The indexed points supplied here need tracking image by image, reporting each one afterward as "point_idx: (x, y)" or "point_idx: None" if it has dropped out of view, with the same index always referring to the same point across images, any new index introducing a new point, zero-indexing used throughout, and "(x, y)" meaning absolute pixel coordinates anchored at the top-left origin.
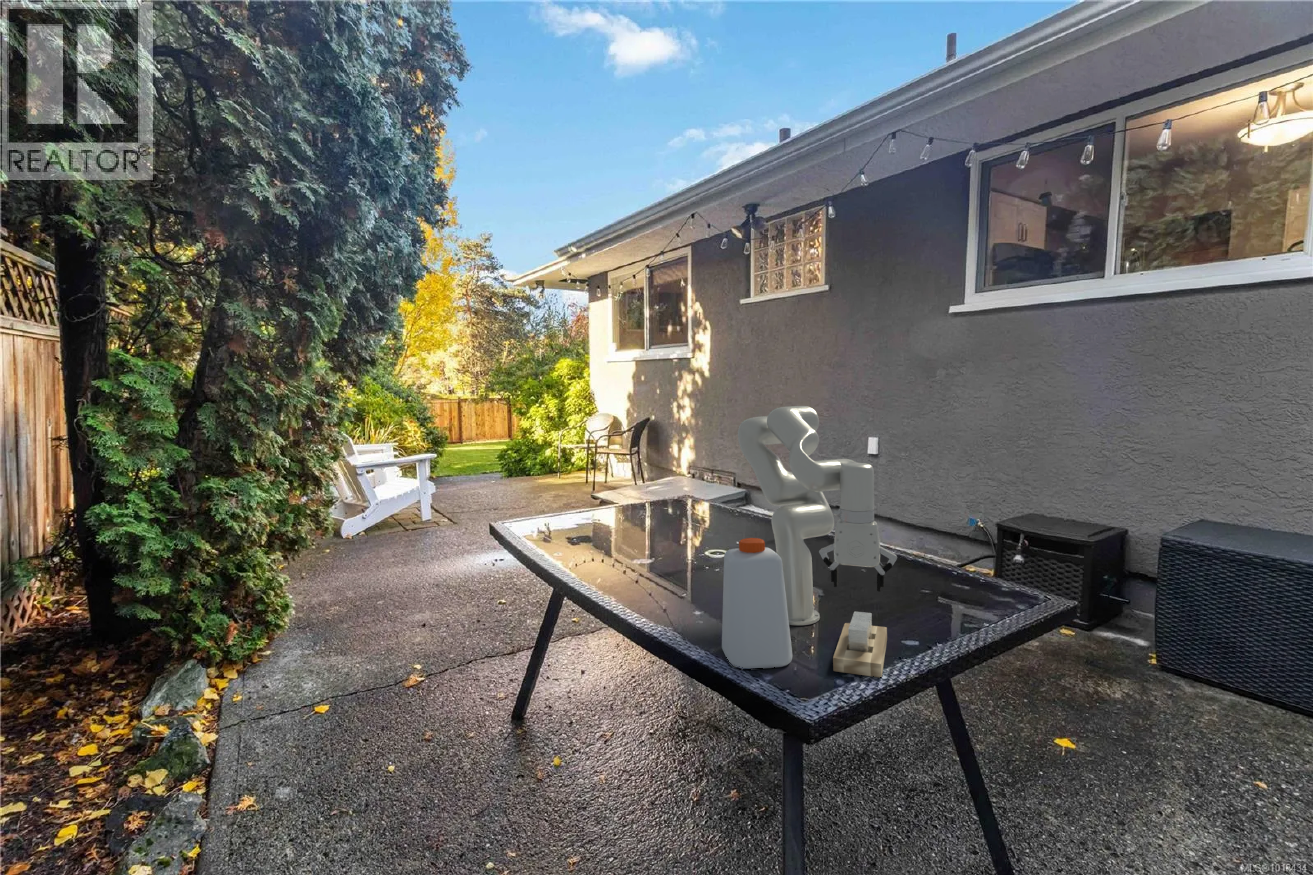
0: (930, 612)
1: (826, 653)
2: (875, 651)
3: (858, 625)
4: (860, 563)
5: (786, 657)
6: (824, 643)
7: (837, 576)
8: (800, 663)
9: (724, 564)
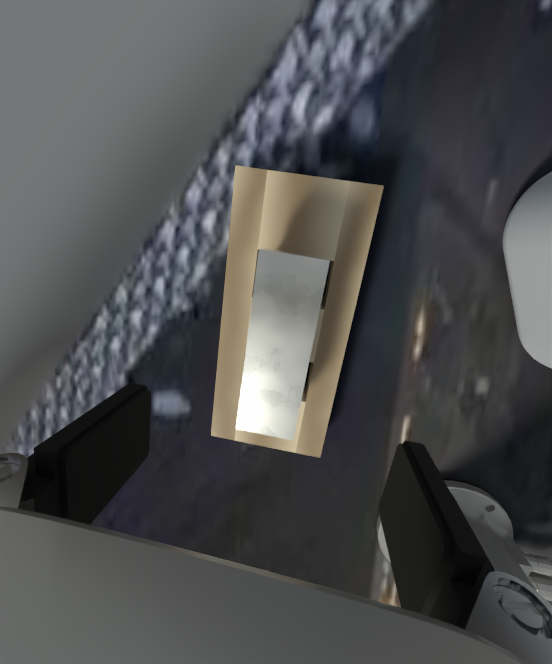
0: None
1: (381, 313)
2: (247, 263)
3: (287, 304)
4: (123, 581)
5: (545, 182)
6: (379, 377)
7: (410, 522)
8: (469, 231)
9: None
